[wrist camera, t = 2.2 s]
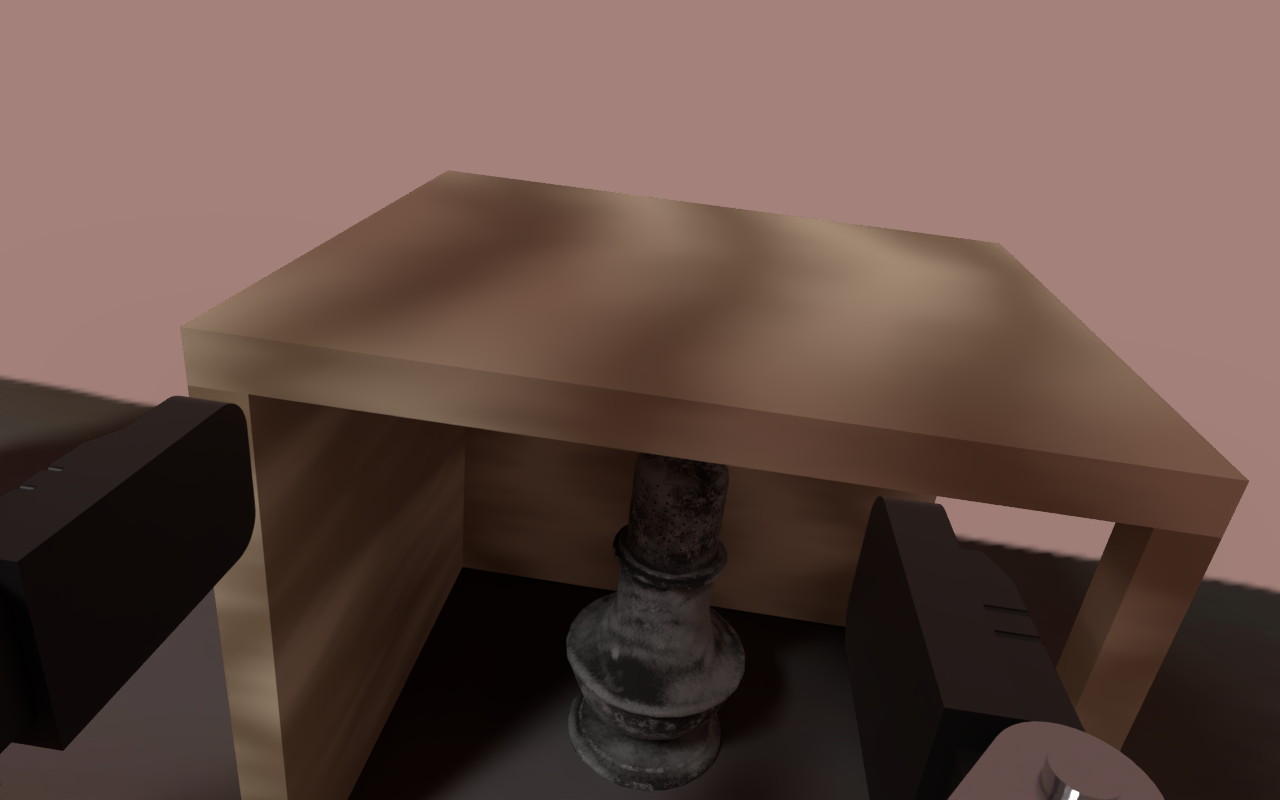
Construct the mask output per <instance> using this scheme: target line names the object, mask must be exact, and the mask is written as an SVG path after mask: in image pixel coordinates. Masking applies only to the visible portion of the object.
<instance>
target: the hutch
mask: <svg viewBox="0 0 1280 800" xmlns="http://www.w3.org/2000/svg"><path fill="white" fill-rule="evenodd" d="M180 330H181V337H182V345H183V353H184V360H185V368H186V376H187V383H188V391H189V397H191V398H199V399H206V400H213V401H220V402H227V403H234V404H236V405H238V406H239V407H240V408H241V409H242V410H243V412H244V414H245V417H246V421H247V428H248V438H249V448H250V458H251V468H252V478H253V487H254V497H255V508H256V517H255V525H254V530H253V534H252V537H251V540H250V542H249V545H248V547H247V549H246V551H245V552H244V554H243V555H242V557H241V558H240V559H239V560H238V561H237V562H236V563H235V565H234V566H233V567H232V568H231V569H230V570H229V571H228V572H227V573H226V574H225V575H224V577H223V578H222V579H221V580H220V581H219V582H218V583H217V584H216V585H215V586H214V592H215V599H216V607H217V615H218V623H219V630H220V638H221V646H222V653H223V661H224V669H225V676H226V684H227V692H228V700H229V707H230V715H231V723H232V730H233V738H234V746H235V754H236V761H237V769H238V777H239V784H240V792H241V800H348V798H349V796H350V794H351V792H352V790H353V788H354V786H355V784H356V782H357V780H358V778H359V776H360V774H361V772H362V770H363V768H364V766H365V764H366V762H367V760H368V758H369V756H370V754H371V752H372V750H373V748H374V746H375V743H376V741H377V739H378V737H379V735H380V733H381V731H382V729H383V727H384V725H385V723H386V721H387V719H388V717H389V715H390V713H391V711H392V709H393V707H394V705H395V703H396V701H397V699H398V697H399V695H400V693H401V691H402V689H403V687H404V685H405V683H406V681H407V678H408V676H409V674H410V672H411V670H412V668H413V666H414V664H415V662H416V660H417V658H418V656H419V654H420V652H421V650H422V648H423V646H424V644H425V642H426V640H427V638H428V636H429V634H430V632H431V630H432V628H433V626H434V624H435V622H436V620H437V618H438V616H439V613H440V611H441V609H442V607H443V605H444V603H445V601H446V599H447V597H448V595H449V593H450V591H451V589H452V587H453V585H454V583H455V581H456V579H457V577H458V575H459V573H460V571H461V569H462V567H465V568H472V569H478V570H484V571H491V572H497V573H504V574H510V575H516V576H523V577H529V578H536V579H542V580H548V581H555V582H561V583H568V584H574V585H580V586H587V587H593V588H600V589H606V590H613V591H617V590H618V582H619V573H620V565H619V563H618V561H617V559H616V558H615V556H614V551H613V542H614V539H615V535H616V534H617V533H618V532H619V530H620V529H621V528H622V527H624V526H625V525H627V524H628V520H629V511H630V503H631V495H632V487H633V478H634V470H635V465H636V462H637V459H638V457H639V454H640V453H641V452H643V453H650V454H656V455H663V456H670V457H677V458H683V459H690V460H697V461H704V462H711V463H717V464H724V465H727V467H728V470H729V485H728V490H727V496H726V502H725V507H724V513H723V519H722V524H721V530H720V536H719V539H720V541H721V542H722V543H723V545H724V546H725V548H726V551H727V554H728V562H727V567H726V569H725V571H724V573H723V574H722V576H720V577H719V578H718V579H717V580H715V581H714V584H713V590H712V595H711V601H710V606H715V607H721V608H728V609H734V610H741V611H747V612H753V613H760V614H766V615H773V616H779V617H786V618H792V619H798V620H805V621H811V622H818V623H824V624H830V625H837V626H843V627H845V623H846V613H847V606H848V601H849V596H850V592H851V588H852V584H853V580H854V576H855V572H856V568H857V564H858V560H859V556H860V552H861V548H862V544H863V540H864V536H865V532H866V528H867V524H868V520H869V516H870V512H871V509H872V506H873V504H874V501H875V500H876V498H877V497H878V496H885V497H893V498H900V499H907V500H914V501H921V502H928V503H935V499H936V496H941V497H948V498H954V499H961V500H968V501H975V502H982V503H988V504H995V505H1002V506H1009V507H1015V508H1022V509H1030V510H1036V511H1043V512H1049V513H1057V514H1063V515H1070V516H1076V517H1083V518H1090V519H1097V520H1104V521H1110V522H1116V523H1115V526H1114V528H1113V530H1112V533H1111V535H1110V538H1109V540H1108V542H1107V545H1106V547H1105V550H1104V552H1103V555H1102V557H1101V559H1100V562H1099V564H1098V567H1097V569H1096V572H1095V574H1094V576H1093V579H1092V581H1091V584H1090V586H1089V589H1088V591H1087V593H1086V596H1085V598H1084V601H1083V603H1082V606H1081V608H1080V610H1079V613H1078V615H1077V618H1076V620H1075V623H1074V625H1073V627H1072V630H1071V632H1070V635H1069V637H1068V640H1067V642H1066V644H1065V647H1064V649H1063V652H1062V654H1061V657H1060V659H1059V661H1058V664H1057V666H1056V671H1057V673H1058V675H1059V678H1060V680H1061V682H1062V684H1063V686H1064V688H1065V690H1066V692H1067V694H1068V696H1069V699H1070V701H1071V703H1072V705H1073V707H1074V709H1075V711H1076V713H1077V715H1078V717H1079V720H1080V722H1081V724H1082V726H1083V728H1084V730H1085V732H1086V733H1088V734H1090V735H1092V736H1094V737H1096V738H1098V739H1100V740H1102V741H1104V742H1106V743H1107V744H1109V745H1110V746H1112V747H1114V748H1115V749H1117V750H1118V751H1120V750H1121V747H1122V745H1123V743H1124V741H1125V739H1126V737H1127V735H1128V733H1129V731H1130V729H1131V727H1132V725H1133V722H1134V720H1135V718H1136V716H1137V714H1138V712H1139V710H1140V708H1141V706H1142V704H1143V702H1144V699H1145V697H1146V695H1147V693H1148V691H1149V689H1150V687H1151V685H1152V683H1153V681H1154V679H1155V677H1156V674H1157V672H1158V670H1159V668H1160V666H1161V664H1162V662H1163V660H1164V658H1165V656H1166V654H1167V651H1168V649H1169V647H1170V645H1171V643H1172V641H1173V639H1174V637H1175V635H1176V633H1177V631H1178V629H1179V626H1180V624H1181V622H1182V620H1183V618H1184V616H1185V614H1186V612H1187V610H1188V608H1189V606H1190V603H1191V601H1192V599H1193V597H1194V595H1195V593H1196V591H1197V589H1198V587H1199V585H1200V583H1201V581H1202V578H1203V576H1204V574H1205V572H1206V570H1207V568H1208V566H1209V564H1210V562H1211V560H1212V557H1213V555H1214V553H1215V551H1216V549H1217V547H1218V545H1219V543H1220V541H1221V539H1222V537H1223V534H1224V532H1225V530H1226V528H1227V526H1228V524H1229V522H1230V520H1231V518H1232V516H1233V514H1234V512H1235V510H1236V507H1237V505H1238V503H1239V501H1240V499H1241V497H1242V495H1243V493H1244V491H1245V489H1246V487H1247V484H1248V482H1249V480H1248V479H1247V478H1245V477H1244V476H1243V475H1242V474H1241V473H1240V472H1239V471H1238V470H1237V469H1236V468H1235V467H1234V466H1233V465H1232V464H1231V463H1230V462H1229V461H1228V460H1227V459H1225V458H1224V457H1223V456H1222V455H1221V454H1220V453H1219V452H1218V451H1217V450H1216V449H1215V448H1214V447H1213V446H1212V445H1211V444H1210V443H1209V442H1207V441H1206V439H1205V438H1203V437H1202V436H1201V435H1200V434H1199V433H1198V432H1197V431H1196V430H1195V429H1194V428H1193V427H1192V426H1191V425H1190V424H1189V423H1188V422H1187V421H1186V420H1184V419H1183V418H1182V417H1181V416H1180V415H1179V414H1178V413H1177V412H1176V411H1175V410H1174V409H1173V408H1172V407H1171V406H1170V405H1169V404H1168V403H1167V402H1166V401H1165V400H1164V399H1162V398H1161V397H1160V396H1159V395H1158V394H1157V393H1156V392H1155V391H1154V390H1153V389H1152V388H1151V387H1150V386H1149V385H1148V384H1147V383H1145V381H1144V380H1143V379H1142V378H1140V377H1139V376H1138V375H1137V374H1136V373H1135V372H1134V371H1133V370H1132V369H1131V368H1130V367H1129V366H1128V365H1127V364H1126V363H1124V361H1122V360H1121V359H1120V358H1119V357H1118V356H1117V355H1116V354H1115V353H1114V352H1113V351H1112V350H1111V349H1110V348H1109V347H1108V346H1107V345H1106V344H1105V343H1104V342H1103V341H1102V340H1101V339H1099V338H1098V337H1097V336H1096V335H1095V334H1094V333H1093V332H1092V331H1091V330H1090V329H1089V328H1088V327H1087V326H1086V325H1085V324H1084V323H1083V322H1082V321H1081V320H1080V319H1078V318H1077V317H1076V316H1075V315H1074V314H1073V313H1072V312H1071V311H1070V310H1069V309H1068V308H1067V307H1066V306H1065V305H1064V304H1063V303H1062V302H1061V301H1060V300H1059V299H1057V298H1056V297H1055V296H1054V295H1053V294H1052V293H1051V292H1050V291H1049V290H1048V289H1047V288H1046V287H1045V286H1044V285H1043V284H1042V283H1041V282H1040V281H1039V280H1038V279H1036V278H1035V277H1034V276H1033V275H1032V274H1031V273H1030V272H1029V271H1028V270H1027V269H1026V268H1025V267H1024V266H1023V265H1022V264H1021V263H1020V262H1019V261H1017V259H1015V258H1014V257H1013V256H1012V255H1011V254H1010V253H1009V252H1008V251H1007V250H1006V249H1005V248H1004V247H1003V246H1002V245H1001V244H999V243H991V242H984V241H977V240H969V239H962V238H954V237H946V236H939V235H931V234H923V233H916V232H908V231H901V230H894V229H886V228H879V227H871V226H863V225H855V224H848V223H840V222H833V221H826V220H818V219H811V218H802V217H795V216H787V215H780V214H772V213H765V212H757V211H750V210H742V209H735V208H727V207H720V206H712V205H705V204H697V203H689V202H682V201H674V200H667V199H659V198H651V197H644V196H636V195H629V194H622V193H614V192H607V191H599V190H592V189H583V188H576V187H569V186H561V185H554V184H546V183H539V182H531V181H524V180H516V179H508V178H501V177H493V176H485V175H478V174H470V173H463V172H455V171H446V172H445V173H443V174H441V175H439V176H438V177H436V178H434V179H433V180H431V181H429V182H427V183H426V184H424V185H422V186H421V187H419V188H417V189H415V190H414V191H412V192H410V193H409V194H407V195H405V196H403V197H402V198H400V199H398V200H397V201H395V202H393V203H391V204H390V205H388V206H386V207H385V208H383V209H381V210H380V211H378V212H376V213H374V214H373V215H371V216H369V217H368V218H366V219H364V220H362V221H361V222H359V223H357V224H356V225H354V226H352V227H350V228H349V229H347V230H345V231H344V232H342V233H340V234H338V235H337V236H335V237H333V238H332V239H330V240H328V241H326V242H325V243H323V244H321V245H320V246H318V247H316V248H314V249H313V250H311V251H309V252H308V253H306V254H304V255H302V256H301V257H299V258H297V259H296V260H294V261H292V262H291V263H289V264H287V265H285V266H284V267H283V268H280V269H279V270H277V271H275V272H274V273H272V274H270V275H268V276H267V277H265V278H263V279H262V280H260V281H258V282H256V283H255V284H253V285H251V286H250V287H248V288H246V289H244V290H243V291H241V292H239V293H238V294H236V295H234V296H232V297H231V298H229V299H227V300H225V301H224V302H222V303H220V304H219V305H217V306H215V307H213V308H212V309H210V310H208V311H207V312H205V313H203V314H202V315H200V316H198V317H196V318H195V319H193V320H191V321H190V322H188V323H186V324H184V325H183V326H181V327H180Z"/></svg>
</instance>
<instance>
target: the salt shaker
mask: <svg viewBox="0 0 1280 800" xmlns="http://www.w3.org/2000/svg"><path fill="white" fill-rule="evenodd" d="M728 485H729V470H728V467H727V465H724V464H717V463H711V462H704V461H697V460H690V459H683V458H677V457H670V456H663V455H656V454H650V453H643V452H641V453H640V454H639V457H638V459H637V462H636V465H635V470H634V478H633V487H632V495H631V503H630V511H629V520H628V524H627V525H625V526H624V527H622V528H621V529H620V530H619V532H618V533H617V534H616V535H615V539H614V542H613V551H614V556H615V558H616V559H617V561H618V563H619V565H620V573H619V582H618V590H617V592H615V593H612V594H610V595H607V596H604V597H602V598H599V599H597V600H595V601H594V602H593V603H591V604H590V605H588V606H587V607H585V608H584V609H582V610H581V612H580V613H579V614H578V615H577V617H576V618H575V619H574V620H573V622H572V623H571V626H570V629H569V632H568V635H567V638H566V645H567V658H568V660H569V662H570V665H571V667H572V669H573V671H574V674H575V677H576V680H577V682H578V684H579V687H580V689H581V690H580V692H579V693H578V695H577V696H576V697H575V699H574V700H573V702H572V705H571V708H570V712H569V715H568V732H569V737H570V740H571V742H572V745H573V747H574V750H575V752H576V753H577V754H578V755H579V757H580V758H581V759H582V760H583V762H584V763H585V764H586V765H587V766H588V767H589V768H591V769H592V770H593V771H595V772H596V773H597V774H599V775H600V776H601V777H603V778H605V779H607V780H609V781H611V782H614V783H616V784H618V785H621V786H624V787H629V788H634V789H639V790H667V789H671V788H674V787H678V786H682V785H685V784H687V783H689V782H690V781H692V780H694V779H696V778H697V777H699V776H701V775H702V774H703V773H704V772H705V771H706V770H707V769H708V767H709V766H710V765H711V764H712V763H713V761H714V759H715V757H716V755H717V752H718V750H719V747H720V737H721V728H720V724H719V721H718V717H717V714H716V713H717V711H718V710H719V709H720V708H721V707H722V706H723V705H724V703H725V700H726V699H727V698H728V697H729V696H730V695H731V694H732V693H733V692H734V691H735V690H736V689H737V688H738V685H739V683H740V681H741V679H742V677H743V675H744V671H745V652H744V649H743V646H742V643H741V640H740V638H739V636H738V635H737V633H736V632H735V631H734V629H733V628H732V626H731V625H730V623H729V622H727V621H726V620H725V619H724V618H723V617H722V616H721V615H719V614H718V613H717V612H716V611H715V610H713V609H712V608H710V601H711V595H712V590H713V584H714V581H715V580H717V579H718V578H719V577H720V576H722V574H723V573H724V571H725V569H726V567H727V562H728V554H727V551H726V548H725V546H724V545H723V543H722V542H721V541H720V539H719V536H720V530H721V524H722V519H723V513H724V507H725V502H726V496H727V490H728Z"/></svg>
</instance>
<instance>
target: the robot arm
mask: <svg viewBox="0 0 1280 800" xmlns="http://www.w3.org/2000/svg"><path fill="white" fill-rule="evenodd" d="M255 517H256V508H255V497H254V487H253V478H252V468H251V458H250V448H249V438H248V428H247V421H246V417H245V414H244V412H243V410H242V409H241V408H240V407H239V406H238V405H236V404H234V403H227V402H220V401H213V400H206V399H199V398H191V397H184V396H173V397H170V398H168V399H167V400H165V401H164V402H162V403H161V404H159V405H158V406H156V407H155V408H153V409H152V410H150V411H149V412H147V413H146V414H144V415H143V416H141V417H140V418H138V419H137V420H135V421H134V422H132V423H131V424H129V425H128V426H126V427H125V428H122V429H120V430H117V431H114V432H112V433H109V434H106V435H103V436H101V437H98V438H95V439H93V440H90V441H87V442H85V443H82V444H80V445H79V446H77V447H76V448H74V449H73V450H71V451H70V452H68V453H67V454H65V455H64V456H62V457H60V458H59V459H57V460H56V461H54V462H53V463H51V464H50V465H49V468H48V470H41V471H39V472H37V473H36V474H34V475H33V476H31V477H30V478H28V479H27V480H25V481H24V482H22V483H21V486H20V488H19V489H15V488H13V489H11V490H10V491H8V492H7V493H5V494H4V495H2V496H1V497H0V753H1V752H2V751H3V750H4V749H5V748H6V747H7V746H8V745H9V744H10V743H11V742H13V743H19V744H25V745H31V746H37V747H43V748H49V749H55V750H61V751H63V750H64V749H65V748H66V747H67V746H68V745H69V744H70V743H71V742H72V741H73V740H74V738H75V737H76V736H77V735H78V734H79V733H80V732H81V731H82V730H83V729H84V728H85V726H86V725H87V724H88V723H89V722H90V721H91V720H92V719H93V718H94V717H95V716H96V715H97V713H98V712H99V711H100V710H101V709H102V708H103V707H104V706H105V705H106V704H107V703H108V701H109V700H110V699H111V698H112V697H113V696H114V695H115V694H116V693H117V692H118V691H119V690H120V688H121V687H122V686H123V685H124V684H125V683H126V682H127V681H128V680H129V679H130V678H131V677H132V675H133V674H134V673H135V672H136V671H137V670H138V669H139V668H140V667H141V666H142V665H143V663H144V662H145V661H146V660H147V659H148V658H149V657H150V656H151V655H152V654H153V653H154V652H155V650H156V649H157V648H158V647H159V646H160V645H161V644H162V643H163V642H164V641H165V640H166V638H167V637H168V636H169V635H170V634H171V633H172V632H173V631H174V630H175V629H176V628H177V627H178V625H179V624H180V623H181V622H182V621H183V620H184V619H185V618H186V617H187V616H188V615H189V613H190V612H191V611H192V610H193V609H194V608H195V607H196V606H197V605H198V604H199V603H200V602H201V600H202V599H203V598H204V597H205V596H206V595H207V594H208V593H209V592H210V591H211V590H212V588H213V587H214V586H215V585H216V584H217V583H218V582H219V581H220V580H221V579H222V578H223V577H224V575H225V574H226V573H227V572H228V571H229V570H230V569H231V568H232V567H233V566H234V565H235V563H236V562H237V561H238V560H239V559H240V558H241V557H242V555H243V554H244V552H245V551H246V549H247V547H248V545H249V542H250V540H251V537H252V534H253V530H254V525H255ZM1027 611H1028V610H1027V608H1026V606H1025V604H1024V602H1023V600H1022V598H1021V596H1020V594H1019V592H1018V590H1017V587H1016V585H1015V583H1014V581H1013V580H1012V579H1011V578H1010V577H1009V576H1008V575H1007V574H1006V573H1005V572H1004V571H1003V570H1002V569H1001V568H1000V567H999V566H998V565H997V564H996V563H995V562H993V561H992V560H991V559H990V558H989V557H988V556H987V555H986V554H985V553H984V552H983V551H978V550H971V549H964V548H960V546H959V544H958V541H957V539H956V536H955V534H954V531H953V529H952V527H951V524H950V521H949V519H948V517H947V514H946V512H945V510H944V508H943V506H942V505H940V504H935V503H928V502H921V501H914V500H907V499H900V498H893V497H885V496H878V497H877V498H876V500H875V501H874V504H873V506H872V509H871V512H870V516H869V520H868V524H867V528H866V532H865V536H864V540H863V544H862V548H861V552H860V556H859V560H858V564H857V568H856V572H855V576H854V580H853V584H852V588H851V592H850V596H849V601H848V606H847V613H846V623H845V649H846V656H847V662H848V668H849V674H850V681H851V687H852V693H853V699H854V705H855V711H856V718H857V724H858V730H859V736H860V742H861V748H862V755H863V761H864V767H865V773H866V779H867V786H868V792H869V798H870V800H1164V798H1163V796H1162V794H1161V793H1160V791H1159V790H1158V788H1157V787H1156V785H1155V784H1154V783H1153V781H1152V780H1151V779H1150V778H1149V777H1148V776H1147V775H1146V774H1145V772H1144V771H1143V770H1142V769H1140V768H1139V767H1138V766H1137V765H1136V764H1135V763H1134V762H1133V761H1132V760H1130V759H1129V758H1128V757H1126V756H1125V755H1124V754H1122V753H1121V752H1120V751H1118V750H1117V749H1115V748H1114V747H1112V746H1110V745H1109V744H1107V743H1106V742H1104V741H1102V740H1100V739H1098V738H1096V737H1094V736H1092V735H1090V734H1088V733H1086V732H1085V730H1084V728H1083V726H1082V724H1081V722H1080V720H1079V717H1078V715H1077V713H1076V711H1075V709H1074V707H1073V705H1072V703H1071V701H1070V699H1069V696H1068V694H1067V692H1066V690H1065V688H1064V686H1063V684H1062V682H1061V680H1060V678H1059V675H1058V673H1057V671H1056V669H1055V667H1054V665H1053V663H1052V661H1051V659H1050V657H1049V655H1048V652H1047V650H1046V648H1045V646H1044V644H1043V643H1040V642H1039V639H1040V636H1039V634H1038V631H1037V629H1036V627H1035V625H1034V623H1033V621H1032V619H1031V617H1027ZM0 785H1V783H0Z"/></svg>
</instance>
